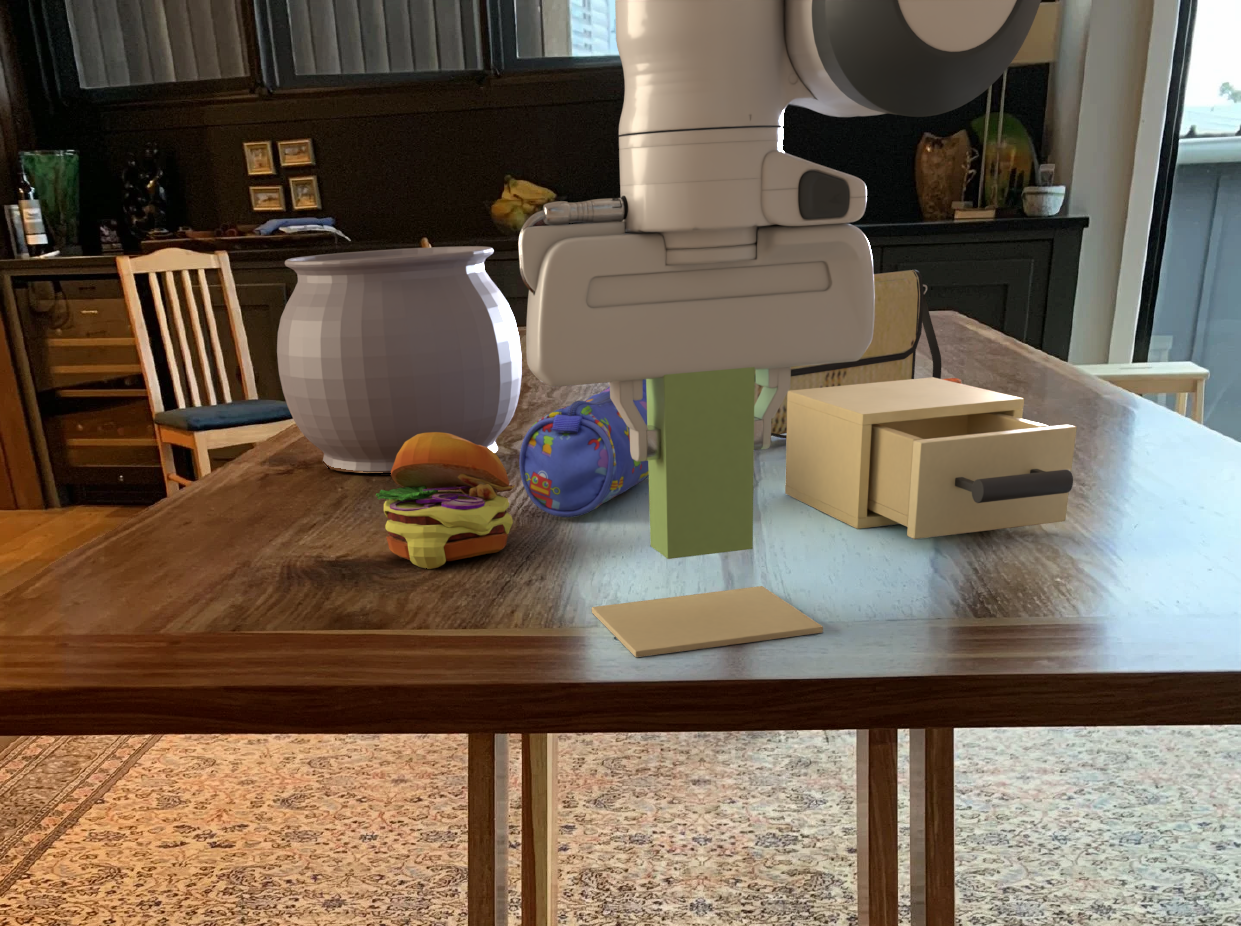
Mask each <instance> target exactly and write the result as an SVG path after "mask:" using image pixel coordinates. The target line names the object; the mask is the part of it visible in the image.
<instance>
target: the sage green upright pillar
mask: <svg viewBox="0 0 1241 926" xmlns="http://www.w3.org/2000/svg"><path fill="white" fill-rule="evenodd" d="M646 391H647V425H653V426H655V427H657V428H659V429H661V443H660V447H661V458H660V459H657V460H648V469H649V476H648V500H649V501H648V503H649V505H648V506H649V507H648V509H649V536H650V537H649V543H650V547H651V548H652V549H654V550H655V551H656V552H657V553H659V554H660V555H662V556H663V557H664V558H666V559H667V560H672V559H681V558H689V557H698V556H706V555H716V554H722V553H731V552H732V553H733V552H739V551H748V550H753V549H754V484H755V483H754V482H755V481H754V479H755V478H754V475H755V473H754V472H755V467H754V466H755V465H754V464H755V450H754V393H755V367H750V368H738V369H726V370H714V371H702V372H690V373H678V374H666V375H664V377H663V378H654V379H646Z"/></svg>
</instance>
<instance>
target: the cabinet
mask: <svg viewBox="0 0 1241 926" xmlns="http://www.w3.org/2000/svg"><path fill="white" fill-rule="evenodd" d="M942 379H943V378H941V379H938V378H934V377H932V376H931V377H923V378H922V377H921V378H914V379H909V380H898V381H887V382H877V383H866V384H855V385H844V386H833V387H823V388H812V389H801V390H790V391H788V393H787V400H788V401H787V433H786V435H787V437H786V438H785V439H786V444H785V450H786V451H785V481H784V482H785V484H784V485H785V486H784V495H787V496H789V497H791V498H793V499H795V500H797V501H799V502H801V503H803V504H805V505H807V506H809V507H811V508H813V509H816V510H818V511H820V512H821V513H824V514H825V515H828V516H830V517H832V518H834V519H836V520H837V521H841V522H842V523H844V524H846V525H848V526H850V527H852V528H854V529H857V530H860V529H868V528H877V527H884V526H885V527H887V526H893V525H895V526H896V525H901V524H900V523H898V522H895V521H893V520H891V519H889V518H886V517H884V516H882V515H880V514H878V513H875V512H873V511H871V510H869V509H867V503H868V485H869V466H870V447H871V428H872V425H871V424H879V423H889V422H899V421H909V420H919V419H929V418H940V417H950V416H960V415H970V414H980V413H990V412H997V413H1001V414H1005V415H1009V416H1013V417H1017V418H1021V419H1023V415H1024V413H1023V412H1024V405H1025V398H1024V397H1019V396H1015V395H1011V394H1007V393H1002V392H998V391H994V390H989V389H985V388H980V387H976V386H972V385H968V384H963V383H961V384H960V383H955V382H951V381H947V380H942Z"/></svg>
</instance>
